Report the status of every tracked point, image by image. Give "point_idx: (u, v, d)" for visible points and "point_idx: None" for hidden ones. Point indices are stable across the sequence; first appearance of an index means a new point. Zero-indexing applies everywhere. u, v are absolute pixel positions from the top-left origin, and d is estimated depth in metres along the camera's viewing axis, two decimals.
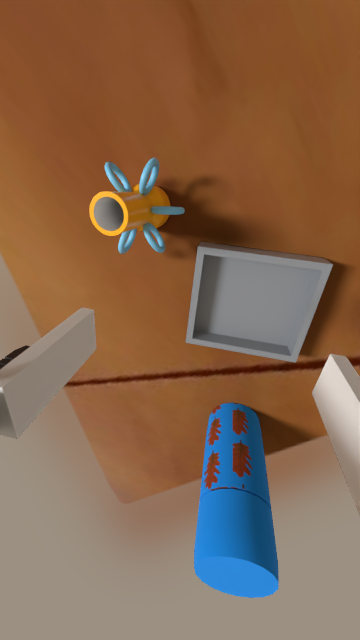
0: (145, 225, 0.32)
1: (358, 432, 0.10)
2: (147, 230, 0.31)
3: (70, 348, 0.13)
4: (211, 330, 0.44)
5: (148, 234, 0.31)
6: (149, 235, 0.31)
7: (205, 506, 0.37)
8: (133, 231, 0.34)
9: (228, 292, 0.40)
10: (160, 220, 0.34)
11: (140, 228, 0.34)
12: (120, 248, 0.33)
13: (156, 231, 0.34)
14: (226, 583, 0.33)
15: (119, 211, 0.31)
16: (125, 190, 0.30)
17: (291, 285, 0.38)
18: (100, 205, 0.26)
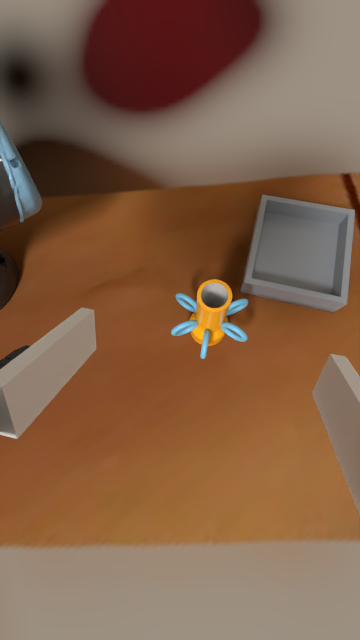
0: None
1: (358, 432, 0.10)
2: None
3: (70, 348, 0.13)
4: (329, 287, 0.43)
5: (231, 303, 0.35)
6: (232, 302, 0.35)
7: None
8: (227, 329, 0.37)
9: (287, 270, 0.44)
10: None
11: None
12: (242, 332, 0.34)
13: (229, 310, 0.39)
14: None
15: None
16: (194, 319, 0.36)
17: (279, 225, 0.47)
18: None
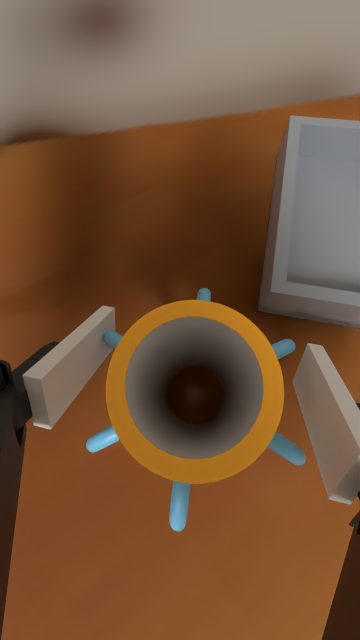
0: None
1: (326, 412, 0.10)
2: None
3: (95, 344, 0.13)
4: None
5: None
6: None
7: None
8: None
9: (352, 261, 0.22)
10: None
11: None
12: (294, 451, 0.11)
13: None
14: None
15: (194, 428, 0.11)
16: None
17: (323, 176, 0.25)
18: (160, 435, 0.07)
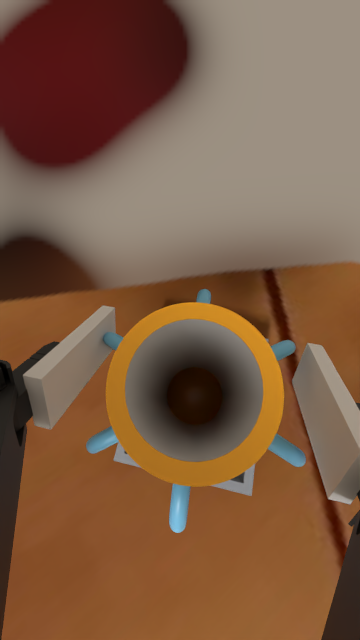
0: None
1: (326, 412, 0.10)
2: None
3: (95, 344, 0.13)
4: None
5: None
6: None
7: None
8: None
9: None
10: None
11: None
12: (294, 453, 0.11)
13: None
14: None
15: (194, 429, 0.11)
16: None
17: None
18: (160, 438, 0.07)
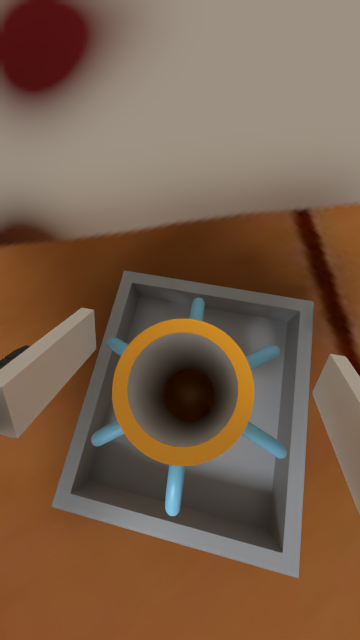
0: None
1: (358, 432, 0.10)
2: None
3: (70, 348, 0.13)
4: (266, 482, 0.19)
5: None
6: None
7: None
8: None
9: None
10: None
11: None
12: (276, 446, 0.12)
13: None
14: None
15: (187, 425, 0.13)
16: None
17: None
18: (155, 429, 0.08)
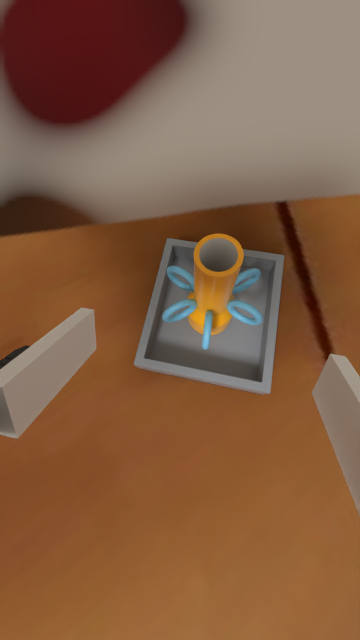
0: None
1: (358, 432, 0.10)
2: None
3: (70, 348, 0.13)
4: (255, 360, 0.32)
5: (240, 274, 0.27)
6: (241, 273, 0.27)
7: None
8: (235, 310, 0.29)
9: (200, 337, 0.34)
10: None
11: None
12: (256, 310, 0.26)
13: None
14: None
15: None
16: (191, 299, 0.27)
17: None
18: None
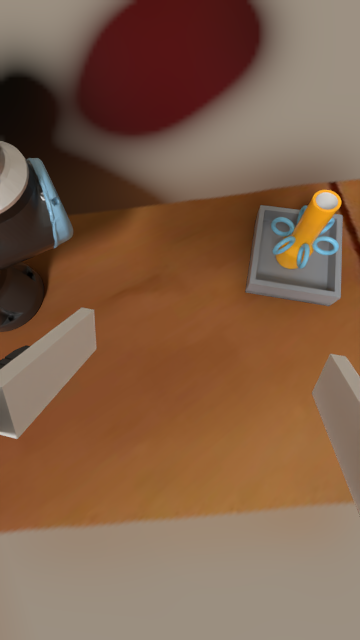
0: None
1: (358, 432, 0.10)
2: None
3: (70, 348, 0.13)
4: (324, 284, 0.49)
5: None
6: None
7: None
8: (317, 246, 0.45)
9: (286, 270, 0.50)
10: None
11: None
12: (336, 241, 0.42)
13: None
14: None
15: None
16: None
17: None
18: None
